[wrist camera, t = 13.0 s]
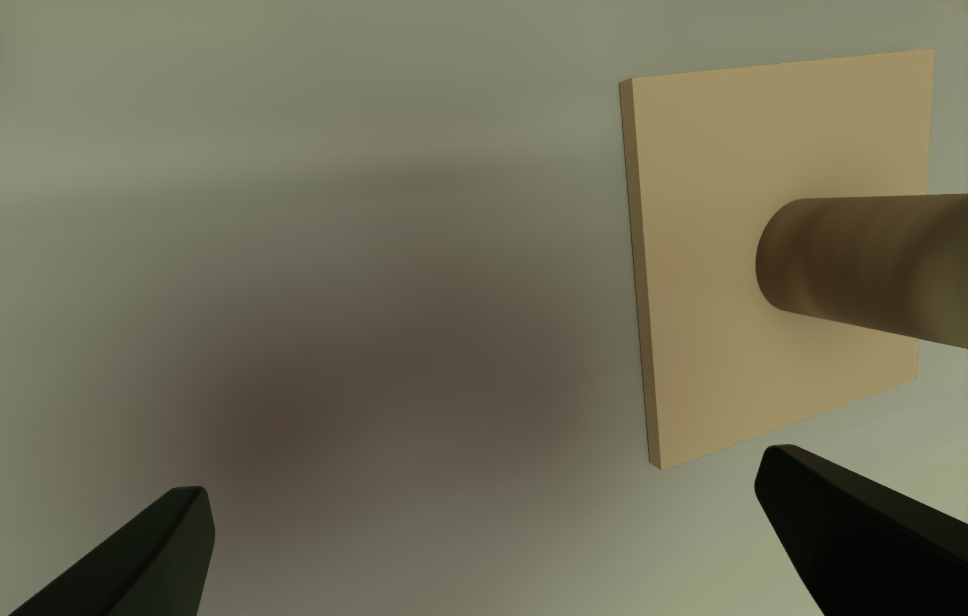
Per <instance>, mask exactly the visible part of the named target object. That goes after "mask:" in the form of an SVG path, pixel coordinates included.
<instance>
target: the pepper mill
mask: <svg viewBox="0 0 968 616" xmlns="http://www.w3.org/2000/svg"><path fill="white" fill-rule="evenodd" d="M755 269H756V278H757V282H758V285H759V288H760V290H761V292H762V294H763V296H764V297H765V298H766V300H767V301H768V302H769V303H770V304H771V305H773V306H774V307H776V308H777V309H780V310H783V311H787V312H791V313H796V314H801V315H806V316H811V317H816V318H821V319H825V320H830V321H835V322H840V323H845V324H850V325H854V326H859V327H864V328H869V329H874V330H879V331H883V332H888V333H893V334H898V335H903V336H908V337H913V338H917V339H922V340H927V341H932V342H937V343H942V344H946V345H951V346H956V347H961V348H966V349H968V194H941V195H906V196H872V197H838V198H804V199H798V200H794V201H792V202H790V203H788V204H786V205H785V206H783V207H782V208H780V209H779V210H778V211H777V212H776V213H775V214H774V215H773V217H772V218H771V219H770V220H769V222H768V223H767V225H766V227H765V229H764V231H763V232H762V235H761V237H760V240H759V244H758V247H757V252H756V261H755Z"/></svg>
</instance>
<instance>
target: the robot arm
mask: <svg viewBox="0 0 968 616" xmlns="http://www.w3.org/2000/svg"><path fill="white" fill-rule="evenodd" d="M754 489H755V493H756V497H757V499H758V501H759V503H760V504H761V506H762V508H763V510H764V512H765V514H766V516H767V517H768V519H769V521H770V523H771V525H772V527H773V528H774V530H775V532H776V534H777V536H778V538H779V540H780V541H781V543H782V545H783V547H784V549H785V551H786V552H787V554H788V556H789V558H790V560H791V562H792V564H793V565H794V567H795V569H796V571H797V573H798V574H799V576H800V578H801V580H802V581H803V583H804V585H805V586H806V588H807V589H808V591H809V593H810V594H811V596H812V597H813V599H814V601H815V602H816V604H817V605H818V607H819V608H820V610H821V611H822V613H823V614H824V616H968V524H967V523H965V522H962V521H960V520H958V519H956V518H954V517H951V516H949V515H947V514H945V513H943V512H940V511H938V510H936V509H934V508H932V507H929V506H927V505H925V504H923V503H921V502H918V501H916V500H914V499H912V498H910V497H908V496H905V495H903V494H901V493H899V492H897V491H894V490H892V489H890V488H888V487H886V486H883V485H881V484H879V483H877V482H875V481H872V480H870V479H868V478H866V477H864V476H861V475H859V474H857V473H855V472H853V471H850V470H848V469H846V468H844V467H842V466H840V465H837V464H835V463H833V462H831V461H829V460H826V459H824V458H822V457H820V456H818V455H815V454H813V453H811V452H809V451H807V450H804V449H802V448H800V447H798V446H795V445H791V444H784V445H772V446H769V447H768V448H767V449H766V450H765V451H764V454H763V457H762V460H761V463H760V466H759V470H758V473H757V476H756V479H755V483H754ZM214 542H215V526H214V521H213V517H212V512H211V507H210V503H209V498H208V494H207V491H206V489H205V488H204V487H202V486H187V487H176V488H173V489H171V490H169V491H167V492H166V493H165V494H164V495H162V496H161V497H160V498H158V499H157V500H156V501H155V502H153V503H152V504H151V505H149V506H148V507H147V508H146V509H144V510H143V511H142V512H140V513H139V514H138V515H137V516H135V517H134V518H133V519H131V520H130V521H129V522H128V523H126V524H125V525H124V526H122V527H121V528H120V529H119V530H117V531H116V532H115V533H113V534H112V535H111V536H110V537H108V538H107V539H106V540H104V541H103V542H102V543H101V544H99V545H98V546H97V547H95V548H94V549H93V550H92V551H90V552H89V553H88V554H86V555H85V556H84V557H83V558H81V559H80V560H79V561H77V562H76V563H75V564H74V565H72V566H71V567H70V568H69V569H67V570H66V571H65V572H63V573H62V574H61V575H60V576H58V577H57V578H56V579H54V580H53V581H52V582H51V583H49V584H48V585H47V586H45V587H44V588H43V589H42V590H40V591H39V592H38V593H36V594H35V595H34V596H33V597H31V598H30V599H29V600H27V601H26V602H25V603H24V604H22V605H21V606H20V607H18V608H17V609H16V610H15V611H13V612H12V613H11V614H9V615H8V616H197V612H198V608H199V604H200V600H201V596H202V592H203V588H204V584H205V580H206V576H207V572H208V567H209V563H210V559H211V555H212V551H213V547H214Z"/></svg>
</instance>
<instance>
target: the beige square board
mask: <svg viewBox="0 0 968 616" xmlns="http://www.w3.org/2000/svg"><path fill="white" fill-rule="evenodd" d="M934 50H935V48H933V49H922V50H912V51H902V52H892V53H882V54H872V55H861V56H851V57H841V58H831V59H821V60H811V61H801V62H790V63H780V64H770V65H760V66H750V67H740V68H730V69H719V70H709V71H699V72H689V73H679V74H669V75H659V76H648V77H638V78H631V79H629V80H626V81H624V82H621V83H619V84H620V96H621V109H622V121H623V134H624V146H625V158H626V171H627V183H628V196H629V208H630V220H631V233H632V245H633V258H634V270H635V282H636V295H637V307H638V320H639V332H640V344H641V357H642V369H643V382H644V394H645V406H646V419H647V431H648V444H649V456H650V463H652V464H653V465H654V466H656V467H657V468H658V469H660V470H661V471H662V470H665V469H668V468H670V467H673V466H676V465H679V464H681V463H684V462H687V461H690V460H692V459H695V458H698V457H701V456H704V455H706V454H709V453H712V452H715V451H717V450H720V449H723V448H726V447H728V446H731V445H734V444H737V443H739V442H742V441H745V440H748V439H751V438H753V437H756V436H759V435H762V434H764V433H767V432H770V431H773V430H775V429H778V428H781V427H784V426H786V425H789V424H792V423H795V422H797V421H800V420H803V419H806V418H809V417H811V416H814V415H817V414H820V413H822V412H825V411H828V410H831V409H833V408H836V407H839V406H842V405H844V404H847V403H850V402H853V401H856V400H858V399H861V398H864V397H867V396H869V395H872V394H875V393H878V392H880V391H883V390H886V389H889V388H891V387H894V386H897V385H900V384H903V383H905V382H908V381H911V380H914V379H916V378H917V370H918V351H919V339H917V338H913V337H908V336H903V335H898V334H893V333H888V332H883V331H879V330H874V329H869V328H864V327H859V326H854V325H850V324H845V323H840V322H835V321H830V320H825V319H821V318H816V317H811V316H806V315H801V314H796V313H791V312H787V311H783V310H780V309H777V308H776V307H774V306H773V305H771V304H770V303H769V302H768V301H767V300H766V298H765V297H764V296H763V294H762V292H761V290H760V288H759V285H758V282H757V278H756V269H755V261H756V252H757V247H758V244H759V240H760V237H761V235H762V232H763V231H764V229H765V227H766V225H767V223H768V222H769V220H770V219H771V218H772V217H773V215H774V214H775V213H776V212H777V211H778V210H779V209H780V208H782V207H783V206H785V205H786V204H788V203H790V202H792V201H794V200H798V199H804V198H838V197H872V196H906V195H927V182H928V163H929V144H930V125H931V106H932V87H933V69H934Z"/></svg>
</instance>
